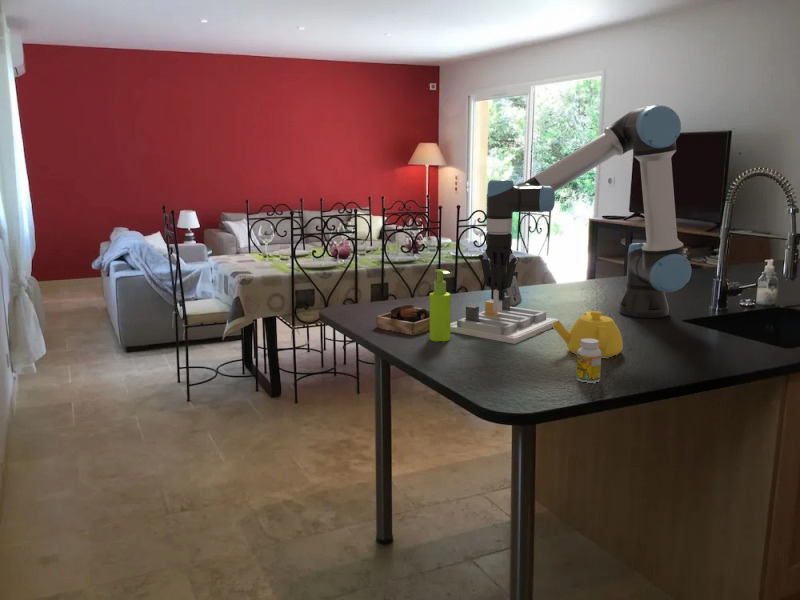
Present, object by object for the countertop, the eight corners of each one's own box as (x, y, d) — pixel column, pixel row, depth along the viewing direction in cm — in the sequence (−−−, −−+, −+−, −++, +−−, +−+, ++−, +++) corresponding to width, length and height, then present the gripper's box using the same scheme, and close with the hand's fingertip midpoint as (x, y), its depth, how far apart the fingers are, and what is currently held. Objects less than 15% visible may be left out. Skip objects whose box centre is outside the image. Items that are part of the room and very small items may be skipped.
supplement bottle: (604, 382, 159) (607, 342, 157) (586, 385, 157) (588, 344, 155) (589, 375, 164) (591, 336, 162) (571, 378, 162) (573, 339, 160)
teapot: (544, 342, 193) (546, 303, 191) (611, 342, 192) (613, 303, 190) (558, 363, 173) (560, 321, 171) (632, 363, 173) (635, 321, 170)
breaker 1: (479, 325, 205) (479, 306, 204) (473, 327, 203) (473, 308, 202) (470, 323, 207) (470, 304, 206) (465, 325, 205) (465, 306, 203)
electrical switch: (513, 306, 236) (511, 280, 234) (498, 306, 238) (497, 280, 237) (522, 301, 244) (520, 275, 242) (508, 301, 246) (506, 275, 245)
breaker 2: (510, 314, 219) (510, 296, 217) (505, 315, 216) (505, 297, 215) (502, 312, 220) (502, 294, 219) (497, 314, 218) (497, 296, 217)
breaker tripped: (498, 320, 211) (498, 301, 210) (492, 321, 209) (493, 303, 208) (489, 318, 213) (489, 300, 212) (484, 320, 211) (484, 301, 210)
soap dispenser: (438, 343, 192) (438, 272, 188) (425, 337, 198) (425, 269, 194) (456, 340, 195) (456, 270, 191) (443, 335, 201) (443, 267, 197)
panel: (559, 324, 212) (559, 313, 211) (514, 343, 191) (514, 331, 190) (492, 313, 226) (492, 302, 226) (444, 330, 206) (444, 318, 205)
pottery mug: (392, 335, 204) (386, 308, 206) (396, 340, 213) (389, 315, 215) (432, 324, 203) (425, 298, 205) (434, 330, 212) (427, 305, 215)
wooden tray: (448, 323, 214) (448, 312, 213) (414, 335, 201) (414, 323, 200) (410, 317, 223) (409, 306, 222) (375, 327, 210) (375, 316, 209)
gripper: (525, 232, 203) (522, 311, 208) (487, 229, 211) (485, 305, 216) (512, 235, 197) (510, 315, 202) (473, 232, 205) (472, 309, 210)
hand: (497, 310), depth 209 cm, fingers closed
